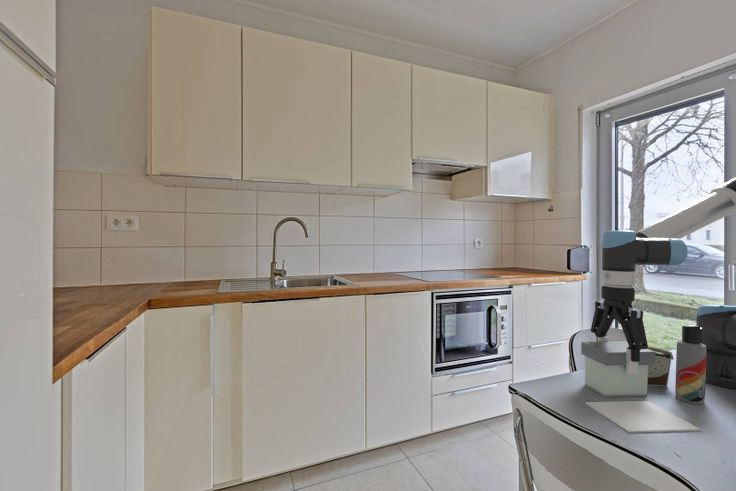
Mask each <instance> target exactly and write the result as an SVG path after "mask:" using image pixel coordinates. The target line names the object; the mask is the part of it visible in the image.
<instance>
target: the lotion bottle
mask: <svg viewBox="0 0 736 491" xmlns="http://www.w3.org/2000/svg"><path fill="white" fill-rule="evenodd" d="M701 341H702V328H701V327H700V326H696V325H692V324H690V325H689V324H688V325H682V326H681V340H678V341H676V354H675V355H676V358H675V384H674V385H675V392H674V393H675V398H676V399H678V400H680V401H682V402H686V403H689V404H693V405H704V404H705V400H706V382H705V379H706V345H704V344H701Z"/></svg>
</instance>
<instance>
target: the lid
mask: <svg viewBox="0 0 736 491" xmlns="http://www.w3.org/2000/svg"><path fill="white" fill-rule="evenodd" d="M634 345H635V343H634ZM627 347H629V345H628V342H627V340H620V341H619V340H618V341H615V340H613V341H611V340H610V341H609V340H608V341H605V342H597V341H581V346H580V348H581V349H580V352H581V353H580V354H581V355H583V356H584V357H586V356H587V357H589V358H591V359H593V360H595V361H598V362H600V363H602V364H604V365H606V366H616V365H626V348H627ZM638 365H655V351H652V350H649V349H641V350H640V361H639V362H638Z"/></svg>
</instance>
